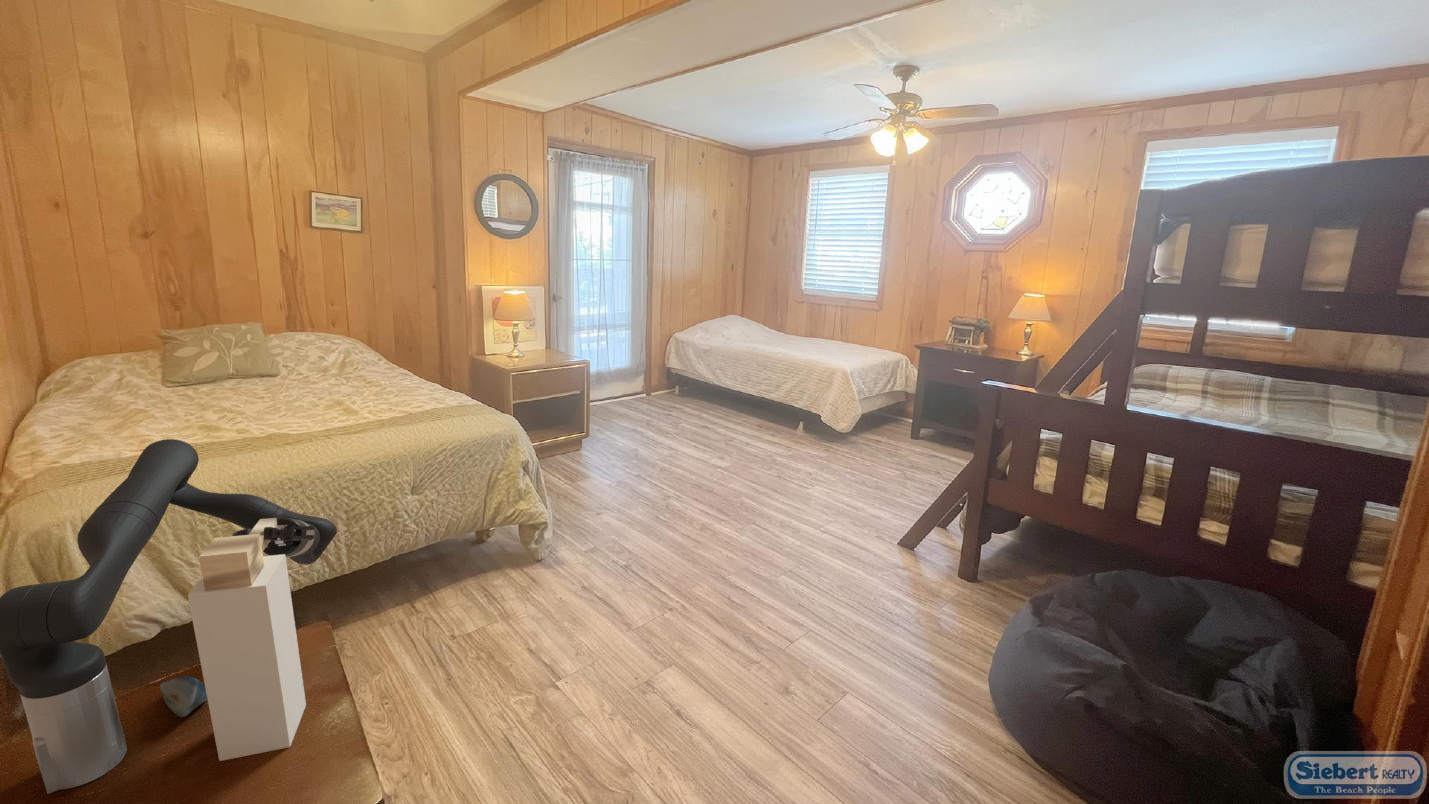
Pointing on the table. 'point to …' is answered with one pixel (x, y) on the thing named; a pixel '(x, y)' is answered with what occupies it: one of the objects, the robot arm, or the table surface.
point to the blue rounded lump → (183, 694)
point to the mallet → (235, 558)
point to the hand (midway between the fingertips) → (255, 534)
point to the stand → (250, 661)
